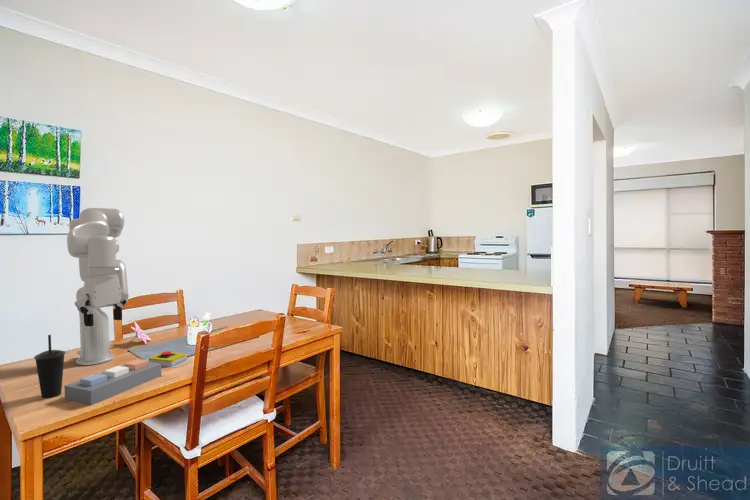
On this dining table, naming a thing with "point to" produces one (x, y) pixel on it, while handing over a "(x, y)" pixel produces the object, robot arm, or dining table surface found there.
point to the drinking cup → (50, 371)
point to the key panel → (111, 385)
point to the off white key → (116, 371)
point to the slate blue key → (93, 379)
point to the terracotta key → (136, 364)
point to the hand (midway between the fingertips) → (103, 322)
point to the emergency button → (169, 359)
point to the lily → (140, 333)
